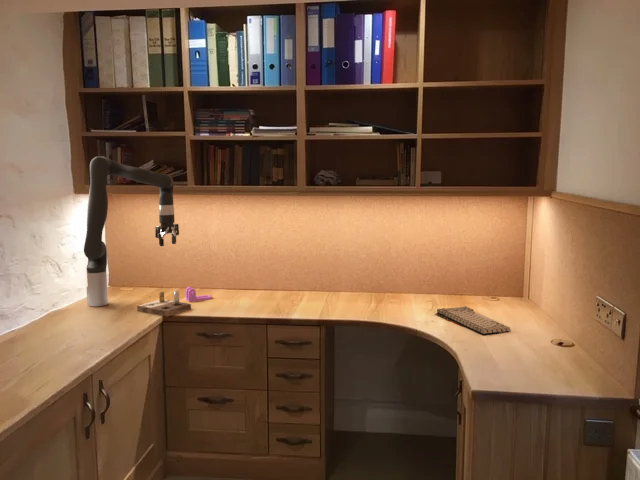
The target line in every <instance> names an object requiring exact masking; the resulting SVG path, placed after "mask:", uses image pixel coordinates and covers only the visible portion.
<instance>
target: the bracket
mask: <svg viewBox="0 0 640 480" xmlns="http://www.w3.org/2000/svg"><path fill="white" fill-rule="evenodd" d="M185 297H186V298H185V300H186V301H187V302H188V301H189V302H188V303H191V302H193V301H194V302H201V301H208V300H212V299H213V297H212V295H210V294H205V295H197V292H196V289H195V288H193V287H191V286H187V287H186V289H185Z"/></svg>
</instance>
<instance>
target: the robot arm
mask: <svg viewBox="0 0 640 480" xmlns="http://www.w3.org/2000/svg"><path fill="white" fill-rule="evenodd" d="M108 176H115V177H116V176H117V177H121V178H125V179H128V180H131V181H134V182H137V183H142V184H146V185H150V186H154V187H158V188H159V195H158V220H159V224H160V225H156V226H155V227H154V229H155V231H154V232H155V235H154V237H155V238H156V239H158V244H159V246H160V247H164V246H165V243H164V238H165V236H166V235H168V234H170V235H171V244H172V245H177V236H179V235H180V226H179V223H175V222H176V221H175V208H174V178H173V177H172V176H171V175H170V174H165V173H160V172H155V171H153V170H149V169H145V168H142V167H135V166H130V165H127V164H123V163H120V162H116V161H115V160H111V159H109V158H107V157H105V156H95V157H94V158H92V159H91V161H90V163H89V177H90V179H89V180H90V182H89V183H90V184H89V185H90V186H89V191H88V192H89V193H88V202H87V215H86V216H87V217H86V218H87V219H86V234H85V240H84V245H83V252H84V255H85V257H86V258H87V266H86V279H87V280H86V281H87V282H86V283H87V285H86V297H87V298H86V300H87V303H86V304H87V305H88V306H89V307H96V308H97V307H104V306H107V305H108V304H109V298H108V297H109V295H108V294H109V293H108V278H107V277H108V276H107V275H108V274H107V267H108V266H107V265H108V252H107V245H106V244H105V242H104V241H103V231H104V227H105V225H106V221H107V219H108V218H107V217H108V210H109V209H108V208H109V199H108V191H107V179H108Z"/></svg>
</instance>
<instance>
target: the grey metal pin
mask: <svg viewBox="0 0 640 480" xmlns="http://www.w3.org/2000/svg"><path fill="white" fill-rule="evenodd" d="M173 301H174V306H178V305H179V302H180V291H179V290H177V291H174V292H173Z"/></svg>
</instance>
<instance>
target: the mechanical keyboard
mask: <svg viewBox="0 0 640 480" xmlns="http://www.w3.org/2000/svg"><path fill="white" fill-rule="evenodd" d="M434 315H435V316H436V317H439V318H441V319H442V320H445V321H447V322H449V323H452V324H454V325H456V326H459V327H463V328H465V329H467V330H470V331H471V332H472V331H473V332H474V333H476V334H478V335H480V336H483V337H484V336H493V335H500V334H503V333H509V332H512V329H511V327H510V326H508V325H505V324H503V323H500V322H499V321H497V320H494V319H492V318H491V317H490V318H489V317H487V316H485V315H482V314H481V313H478V312H475V310H474V309H473V308H471V307H468V306H466V305H465V306H459V307H457V306H455V307H446V308H445V307H443V308H437V309H436V313H434Z"/></svg>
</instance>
